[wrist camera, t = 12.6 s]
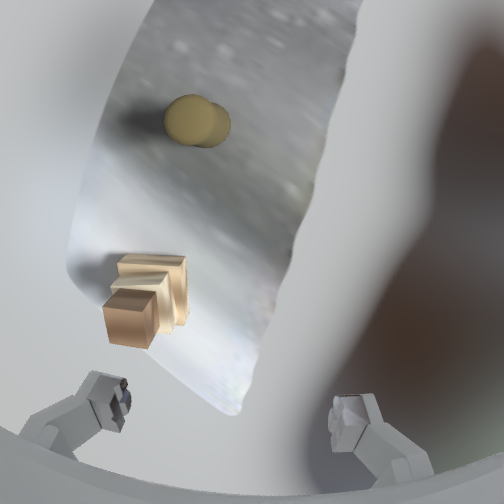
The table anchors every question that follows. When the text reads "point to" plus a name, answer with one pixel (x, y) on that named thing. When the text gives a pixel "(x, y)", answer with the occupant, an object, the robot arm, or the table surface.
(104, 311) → the walnut cube
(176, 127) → the cork
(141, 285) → the tower mid
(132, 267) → the tower base
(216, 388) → the table surface
